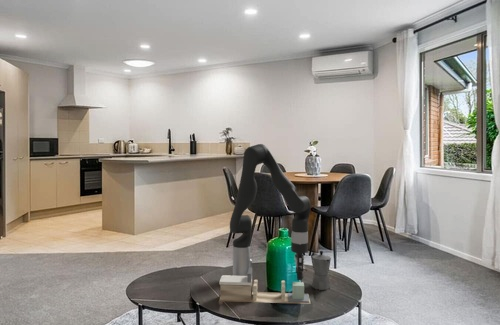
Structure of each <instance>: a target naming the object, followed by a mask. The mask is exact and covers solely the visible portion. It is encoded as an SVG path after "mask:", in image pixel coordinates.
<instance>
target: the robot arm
mask: <svg viewBox="0 0 500 325" xmlns="http://www.w3.org/2000/svg"><path fill="white" fill-rule="evenodd" d="M242 160H243V161H242V170H241V175H240V181H239V185H238V189H237V194H236V200H235V205H234V207H233V210H232V213H231V218H230V221H229V229H230V232H231V233H232V234H235V235H237V234H241V235H240V236H239V237H237V238H235V239H234V240H233V242H232V275H233V276H248V270H249V267H252V268H253V264H252V263H253V260H252V259H251V243H252V230H253V229H252V228H253V224H252V223H253V222H252V221H253V220H252V218H251V216H250V215H248V214H247V215H246V214H245V215H243V214H244V212H246V210H247V209H248V208H249V207H250V206H251V205H252V204H253V203H254V201H255V199H256V196H257V193H258V183H257V181H256V179H255V171H256V168H257V166H259V165H260V164H263V165H264V166H265V167H266V168H267V169H268V171H269V174H270V177H271V181H272V184H273V186H274V187H275V188H276V190H277V191H278V192H279V194H281V195H282V197H283V199H284V201H285V203H286V205H287V206H288V208H289V209H290V210H291V211H292V212H293V213H295V216H293V219H292V220H291V235H290V236H291V237H290V250H291V253H295V254H294V260H295V261H294V263H295V262H296V263H295V264H296V273H297V276H296V280H297V281H303V278H302V272H303V266H305V261H304V260H305V255H304V254H306V253H308V251H309V250H308V249H309V223H308V222H309V219H310V215H311V208H312V205H311V200H310V198H309V197H307V196H306V195H300V196H299V195H298V193H297V187H296V186H295V185H294V183H293V182H291V180H290V179H289V178H288V177H287V176H286V174H285V173H284V172H283V170H282V169H281V167H280V165H279V164H278V162H277V161H276V159H275V157H274V156H273V154H272V153H271V151H270V150H269V148H268V147H267V146H266V145H265V144H263V143H260V144H255V145H252V146H249V147H247V148H246V149H245V150H244V153H243V158H242Z"/></svg>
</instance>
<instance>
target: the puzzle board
mask: <svg viewBox="0 0 500 325" xmlns="http://www.w3.org/2000/svg"><path fill="white" fill-rule="evenodd" d="M258 282H259V281H258V279H254V280H253V281H252V282H251V285H223V284H220V297H219V299H218V305H223V303H224V302H235V303H237V302H238V303H239V302H240V303H241V302H243V303H267V304H269V303H270V304H271V303H272V304H274V303H275V304H276V303H277V304H301V305H311V299H310V294H309V293H307V294H308V298H309V302H288V293H289V292H286V281H285V280H281V289H280V292H266V291H265V292H262V291H258V286H259V285H258Z"/></svg>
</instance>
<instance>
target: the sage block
mask: <svg viewBox="0 0 500 325" xmlns="http://www.w3.org/2000/svg"><path fill="white" fill-rule="evenodd" d="M291 286H292V287H291V288H292V289H291V290H292V292H291V293H292V296H293V299H304V294H305V283H304V281H302V282H301V281H292V285H291Z"/></svg>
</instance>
